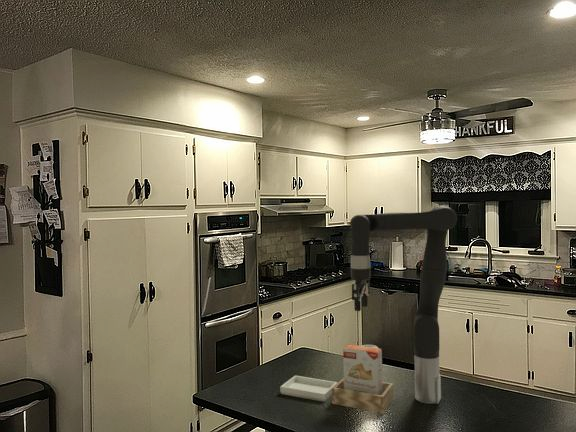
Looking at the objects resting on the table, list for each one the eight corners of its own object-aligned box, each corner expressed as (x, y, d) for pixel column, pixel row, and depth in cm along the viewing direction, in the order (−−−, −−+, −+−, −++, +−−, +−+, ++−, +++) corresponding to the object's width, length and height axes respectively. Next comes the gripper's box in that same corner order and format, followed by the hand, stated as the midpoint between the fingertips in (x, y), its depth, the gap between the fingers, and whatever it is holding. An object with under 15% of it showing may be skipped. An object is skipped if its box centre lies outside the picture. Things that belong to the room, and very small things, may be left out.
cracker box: (343, 401, 184) (342, 347, 183) (348, 395, 189) (347, 343, 189) (378, 407, 177) (377, 352, 177) (383, 401, 183) (382, 347, 182)
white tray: (337, 389, 195) (337, 382, 195) (324, 402, 183) (324, 394, 183) (295, 382, 204) (295, 375, 204) (280, 393, 192) (280, 386, 192)
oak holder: (393, 398, 185) (393, 383, 185) (383, 413, 172) (383, 396, 172) (345, 390, 194) (345, 376, 194) (332, 403, 182) (332, 388, 181)
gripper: (364, 269, 174) (364, 313, 174) (375, 264, 187) (376, 305, 187) (344, 268, 177) (345, 311, 178) (357, 264, 190) (358, 304, 190)
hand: (361, 308), depth 182 cm, fingers open, 8 cm apart
